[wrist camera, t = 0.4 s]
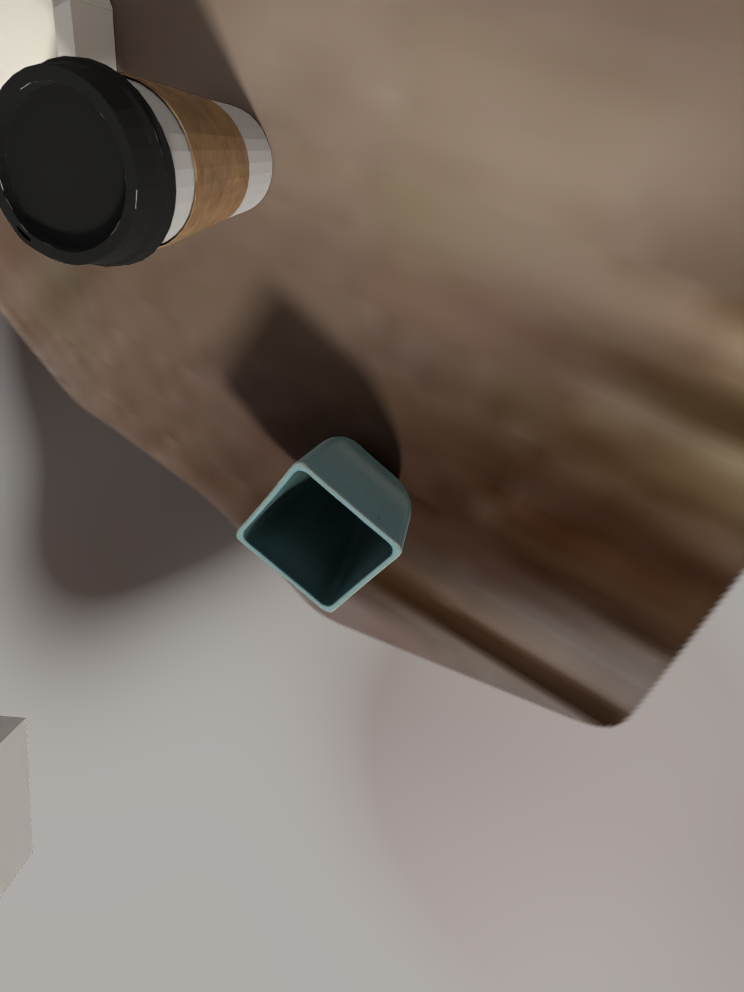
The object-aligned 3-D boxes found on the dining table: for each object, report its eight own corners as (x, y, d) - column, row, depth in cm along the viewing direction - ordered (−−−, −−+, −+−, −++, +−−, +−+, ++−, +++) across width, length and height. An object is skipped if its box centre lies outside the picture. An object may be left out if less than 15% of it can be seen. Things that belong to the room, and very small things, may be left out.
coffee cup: (149, 159, 39) (-54, 169, 27) (218, 42, 35) (11, -10, 22) (240, 260, 41) (87, 314, 28) (318, 161, 36) (175, 174, 24)
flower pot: (367, 546, 50) (328, 616, 42) (286, 476, 49) (231, 536, 41) (436, 483, 45) (404, 552, 37) (347, 404, 44) (297, 458, 36)
